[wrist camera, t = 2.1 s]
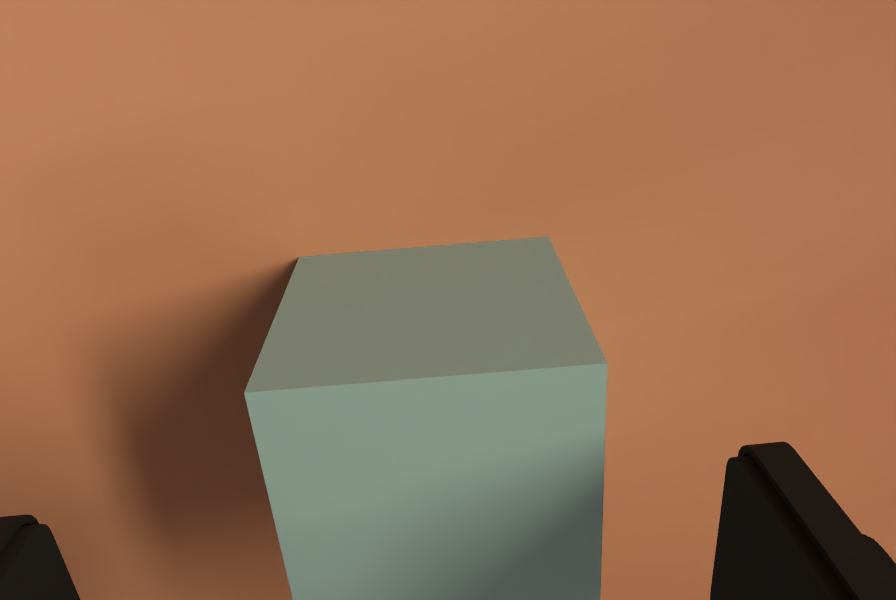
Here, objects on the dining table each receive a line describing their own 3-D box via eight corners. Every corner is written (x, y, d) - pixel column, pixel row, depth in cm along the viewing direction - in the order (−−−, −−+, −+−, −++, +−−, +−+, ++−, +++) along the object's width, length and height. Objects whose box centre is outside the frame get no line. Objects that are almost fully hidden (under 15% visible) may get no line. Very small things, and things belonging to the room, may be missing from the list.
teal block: (547, 235, 14) (606, 363, 10) (550, 437, 16) (599, 618, 12) (300, 255, 14) (243, 392, 10) (334, 455, 16) (302, 643, 12)
